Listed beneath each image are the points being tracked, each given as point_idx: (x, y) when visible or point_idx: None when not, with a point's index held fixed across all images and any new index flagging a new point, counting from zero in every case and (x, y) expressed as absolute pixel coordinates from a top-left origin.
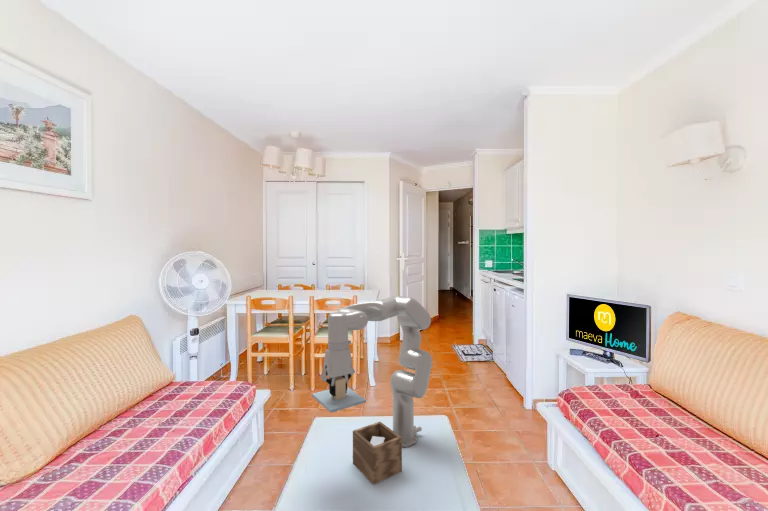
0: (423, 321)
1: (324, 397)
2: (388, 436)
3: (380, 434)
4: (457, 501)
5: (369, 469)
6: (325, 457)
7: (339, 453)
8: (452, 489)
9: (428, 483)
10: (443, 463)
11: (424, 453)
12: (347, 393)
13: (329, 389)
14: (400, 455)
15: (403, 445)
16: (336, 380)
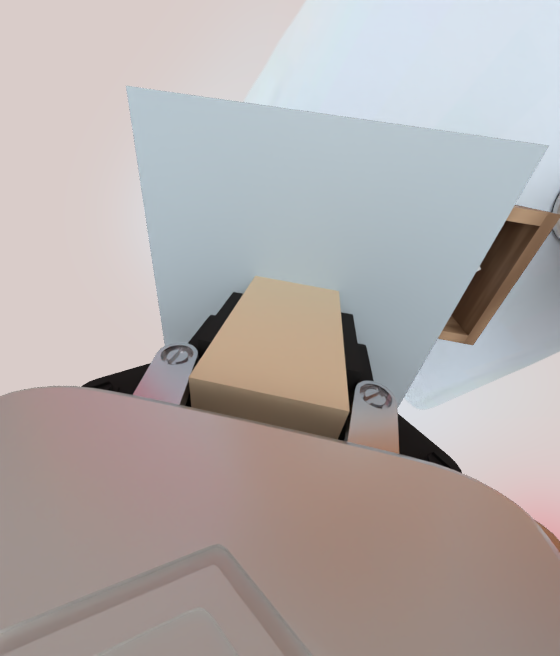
0: None
1: (200, 259)
2: (486, 281)
3: (507, 227)
4: (414, 399)
5: None
6: (357, 77)
7: (406, 93)
8: (439, 385)
9: (430, 353)
10: (519, 343)
11: (546, 293)
12: (374, 326)
13: (200, 328)
14: None
15: (558, 233)
16: None
